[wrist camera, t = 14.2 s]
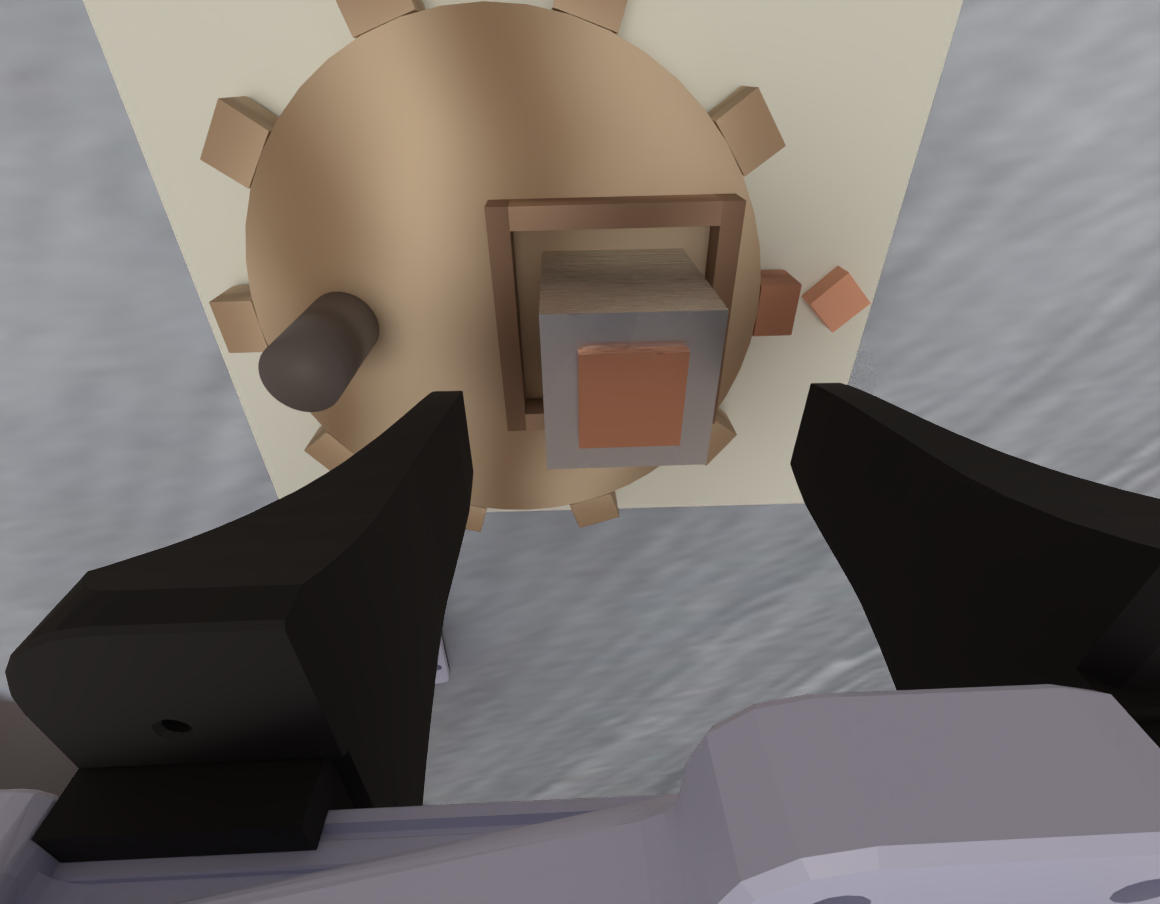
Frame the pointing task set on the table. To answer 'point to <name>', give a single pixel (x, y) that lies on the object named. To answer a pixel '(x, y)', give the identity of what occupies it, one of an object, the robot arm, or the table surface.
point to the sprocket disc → (478, 223)
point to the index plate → (710, 73)
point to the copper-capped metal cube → (628, 358)
